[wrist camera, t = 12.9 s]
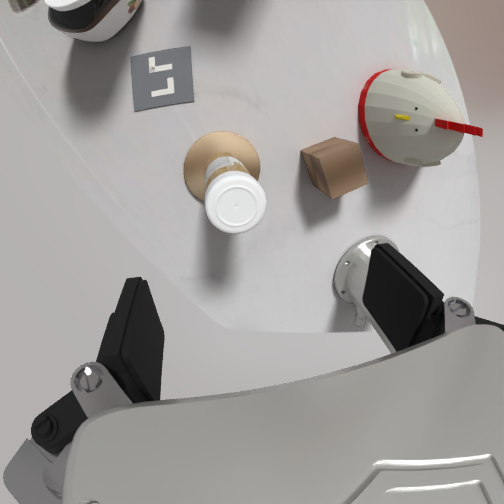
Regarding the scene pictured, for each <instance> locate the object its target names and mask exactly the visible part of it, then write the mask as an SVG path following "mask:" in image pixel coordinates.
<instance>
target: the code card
mask: <svg viewBox="0 0 504 504" xmlns="http://www.w3.org/2000/svg"><path fill="white" fill-rule="evenodd" d="M131 74H132V88H133V100H134V111H138V110H143V109H148V108H153V107H159V106H164V105H170V104H177V103H184V102H191V101H194V93H193V79H192V64H191V47H190V46H188V47H181V48H174V49H168V50H162V51H157V52H151V53H147V54H142V55H137V56H133V57H131Z"/></svg>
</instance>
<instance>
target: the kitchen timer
mask: <svg viewBox="0 0 504 504" xmlns="http://www.w3.org/2000/svg"><path fill="white" fill-rule="evenodd" d="M440 83H441V81H440V80H439V79H437V78H435V77H433V76H431V75H428V74H425V73H422V72H418V71H414V70H408V69H404V70H403V69H388V70H383V71H381V72H378V73H375V74H374V75H373V76H372V77H371V78H370V79H369V80H368V81H367V82H366V84H365V86H364V88H363V89H362V91H361V95H360V100H359V105H358V109H359V122H360V125H361V129H362V132H363V135H364V136H365V138H366V140H367V142H368V144H369V145H370V146H371V147H372V148H373V149H374V151H375V152H376V153H377V154H379V155H380V156H382V157H384V158H386V159H388V160H390V161H393V162H397V163H402V164H405V165H408V166H416V167H429V166H437V165H440V164H441V163H440V160H442V159H444V158H445V157H447V156H448V155H450V154H451V153H453V152H454V151H455V150H456V148H457V147H458V146H459V145H460V143H461V141H462V139H463V136H464V133H468V134H472V135H477V136H481V137H482V136H483V129H482V128H479V127H475V126H471V125H467V124H465V123H464V117H463V115H462V112H461V109H460V107H459V106H458V104H457V102H456V101H455V99H454V98H453V97H452V95H451V94H450V93H449V92H447V91H446V90H445V89H444V88H443V87H442V86H441V85H440Z"/></svg>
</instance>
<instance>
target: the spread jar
mask: <svg viewBox="0 0 504 504" xmlns="http://www.w3.org/2000/svg"><path fill="white" fill-rule="evenodd" d="M44 2H45V4H46V5H48V6H49V8H48V19H49V22H50V23H51V25H52V26H53V27H54V28H56V29H57V30H59V31H61V32H62V33H64V34H67V35H69V36H71V37H73V38H76V39H79V40H83V41H90V42H100V41H105V40H107V39H109V38H111V37H113V36H114V35H116V34H117V33H118V32H119V31H120V30H122V29H123V28H124V27H125V26H126V25H127V24H128V23H129V22H130V21H131V19H132V18H133V17H134V15H135V14H136V12H137V10H138V8H139V6H140V4H141V2H142V0H44Z"/></svg>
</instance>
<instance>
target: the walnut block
mask: <svg viewBox="0 0 504 504" xmlns="http://www.w3.org/2000/svg"><path fill="white" fill-rule="evenodd" d="M301 153H302V156H303V158H304V161H305V164H306V167H307V169H308V172H309V175H310V178H311V181H312V184H313V186H315V187H316V188H317V189H319V190H320V191H321V192H323V193H324V194H325V195H327V196H328V197H329V198H331V199H335V198H337V197H339V196H341V195H344V194H346V193H348V192H350V191H353V190H355V189H357V188H359V187H362V186H364V185H366V184H368V180H367V176H366V172H365V168H364V164H363V160H362V156H361V152H360V149H359V145H358V143H355V142H351V141H347V140H344V139H340V138H336V137H334V138H331V139H328V140H326V141H323V142H320V143H318V144H315V145H313V146H310V147H308V148H305V149H302V150H301Z"/></svg>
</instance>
